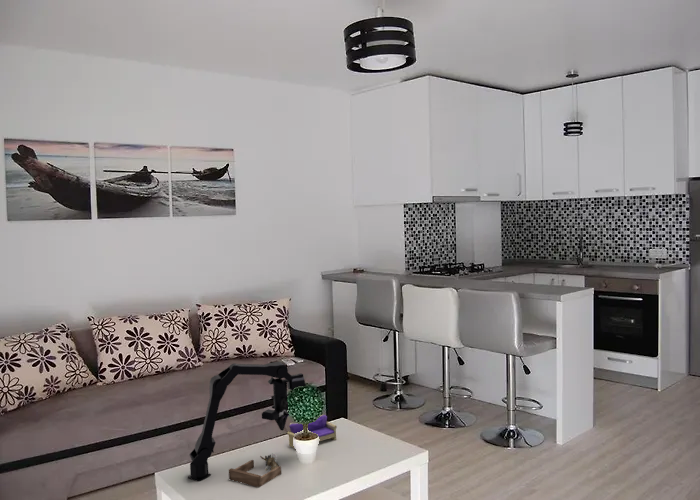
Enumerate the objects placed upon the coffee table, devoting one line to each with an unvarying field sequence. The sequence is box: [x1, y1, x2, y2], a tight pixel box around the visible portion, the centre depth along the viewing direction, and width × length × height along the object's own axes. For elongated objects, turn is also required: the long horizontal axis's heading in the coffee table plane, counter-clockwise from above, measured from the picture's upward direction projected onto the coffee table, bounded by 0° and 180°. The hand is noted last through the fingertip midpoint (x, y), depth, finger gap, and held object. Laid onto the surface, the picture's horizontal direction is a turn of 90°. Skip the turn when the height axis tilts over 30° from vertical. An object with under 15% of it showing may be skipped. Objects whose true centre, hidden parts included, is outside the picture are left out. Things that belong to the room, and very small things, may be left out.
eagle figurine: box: [259, 453, 280, 471], centre depth 247 cm, size 8×7×9 cm
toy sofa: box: [286, 414, 338, 449], centre depth 274 cm, size 21×9×10 cm, turn 125°
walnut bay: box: [228, 459, 282, 488], centre depth 240 cm, size 14×15×4 cm
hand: (282, 430), depth 255 cm, fingers closed
